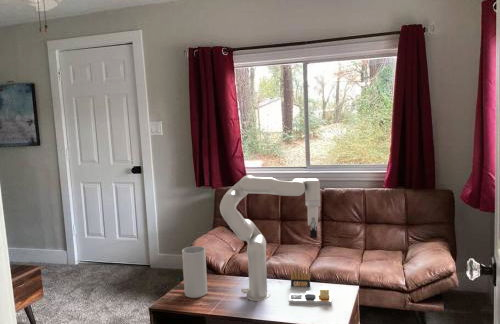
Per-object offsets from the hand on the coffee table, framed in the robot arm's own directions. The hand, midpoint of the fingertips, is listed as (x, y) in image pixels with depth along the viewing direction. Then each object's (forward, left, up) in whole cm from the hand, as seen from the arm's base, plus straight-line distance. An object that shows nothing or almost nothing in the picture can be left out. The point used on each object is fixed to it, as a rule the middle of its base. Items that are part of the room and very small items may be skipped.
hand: (313, 235), depth 223 cm
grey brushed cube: (-2, -8, -32) cm, 33 cm away
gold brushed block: (+5, -8, -32) cm, 34 cm away
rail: (-2, -8, -33) cm, 34 cm away
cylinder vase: (-65, 0, -34) cm, 73 cm away
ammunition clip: (-8, +11, -34) cm, 36 cm away
